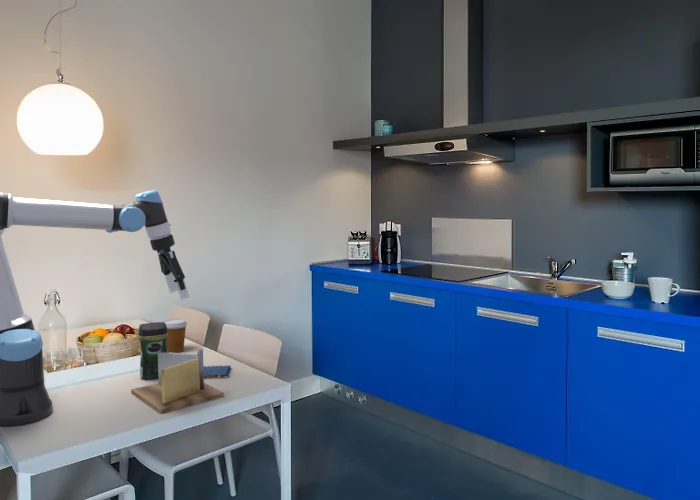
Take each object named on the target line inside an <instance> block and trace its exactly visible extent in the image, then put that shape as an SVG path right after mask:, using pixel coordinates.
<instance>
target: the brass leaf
mask: <svg viewBox="0 0 700 500" xmlns="http://www.w3.org/2000/svg"><path fill="white" fill-rule="evenodd" d="M161 377H162V403H164V404H166V403H169V402H171V401H174V400H177V399H179V398H182V397H184V396H187V395H190V394H192V393H195V392H197V391H200V380H199V359H197V358H196V359H193V360H189V361H186V362H183V363H180V364H177V365H174V366H170V367H167V368H164V369H161Z"/></svg>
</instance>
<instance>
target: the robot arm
mask: <svg viewBox="0 0 700 500" xmlns="http://www.w3.org/2000/svg"><path fill="white" fill-rule="evenodd" d="M134 198H135V200H134V201H132V202H128V203H125V204H120V205H116V204H114V205H113V204H104V203H103V204H102V203H92V202H91V203H89V202H78V201H77V202H76V201H67V200H66V201H64V200H53V199H40V198H30V197H29V198H27V197H26V198H25V197H15V196H14V195H12V194H11V193H9V192H0V427H10V426H13V427H15V426H21V425H26V424H31V423H34V422H37V421H40V420H42V419H44V418H45V419H46V417H48V416H50V415H51V414H52V413H53V411H54V409H53V408H54V407H53V406H54V405H53V401H52V399H51V398H50V396H49V394H48V390H47V389H46V386H45V376H44V375H45V371H44V370H45V369H44V357H43V356H44V355H43V346H44V342H43V338H42V335H41V334H40V332H38V331H37V330H36V329H35V326H34V323H33V318H32V317H31V316H29V315H28V314H26V313H25V312H24V309H23V306H22V302H21V299H20V295H19V291H18V289H17V286H16V285H17V284H16V282H15V278H14V275H13V271H12V268H11V265H10V261H9V258H8V255H7V252H6V247H5V245H4V242H3V237H2V235H3V234H4V232H5V231H6V229H9V228H10V227H12V226H27V227H43V228H63V229H66V228H67V229H82V230H83V229H84V230H103V231H106V232H107V233H109V234H111V233H115V232H120V231H121V232H122V231H123V232H127V233H135V232H138V231H140V230H141V229H143V227H144V228H145V231H146V234H147V237H148V239H150V240H149V243H150V245H151V248H152V251H156V252H157V256H158V260H159V264H160V265H159V267H160V270H161V273H162V274H163V275H164V278H165V282H166V285H167V288H168V291H169V294H173V293H175V292H178V294H179V297H180V300H182V301H183V300H185V299H188V298H190V294H189V291H188V287H187V285H186V282H185V278H186V276H185V273H184V272H183V270H182V267H181V265H180V263H179V260H178V257H177V256H176V252H175V251H174V250H171V247H173V246H175V244H176V241H175V239H174V236H173V234H172V229H171V225H172V224H171V223H169V219H168V216H167V214H166V211H165V207H164V204H163V201H162V198H161V195H160V193H159V191H158V190H156V189H153V190H147V191H142V192H141V193H137V194H136V195H135V197H134Z"/></svg>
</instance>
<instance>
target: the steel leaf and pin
mask: <svg viewBox="0 0 700 500" xmlns="http://www.w3.org/2000/svg"><path fill="white" fill-rule="evenodd" d="M196 358H197V359H199V380H200V390H202V389H204V383H205V378H204V366H205V365H204V350H203V349H201V348H200V349H197V350H196V353H194V354H193V353H181V352H179V353H170V352H158V376H159V378H158V383H159V384H162V377H161V369H164V368H167V367H170V366H174V365H177V364H180V363H183V362H186V361H189V360H193V359H196Z"/></svg>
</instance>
